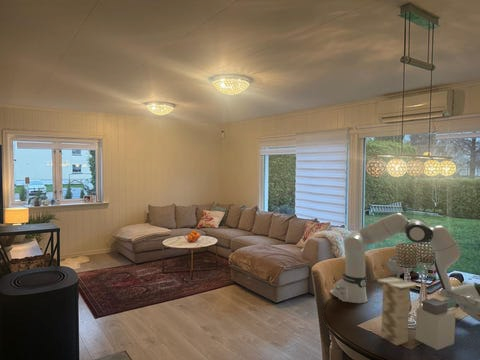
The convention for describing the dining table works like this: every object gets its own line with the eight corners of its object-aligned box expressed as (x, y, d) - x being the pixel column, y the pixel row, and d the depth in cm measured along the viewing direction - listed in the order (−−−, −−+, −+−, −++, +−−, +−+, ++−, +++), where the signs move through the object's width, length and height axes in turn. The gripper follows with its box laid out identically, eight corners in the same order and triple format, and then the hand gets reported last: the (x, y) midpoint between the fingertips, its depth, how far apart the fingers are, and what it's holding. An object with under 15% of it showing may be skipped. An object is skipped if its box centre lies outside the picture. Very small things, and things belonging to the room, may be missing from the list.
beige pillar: (375, 335, 150) (377, 279, 149) (390, 331, 155) (392, 276, 154) (398, 348, 139) (400, 288, 139) (413, 343, 144) (416, 284, 143)
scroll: (414, 281, 227) (415, 252, 226) (392, 275, 238) (393, 248, 238) (422, 277, 236) (423, 249, 236) (402, 272, 248) (403, 245, 247)
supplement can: (431, 274, 244) (432, 254, 243) (438, 277, 235) (439, 257, 235) (420, 274, 243) (421, 254, 243) (427, 277, 235) (428, 257, 235)
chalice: (390, 276, 236) (390, 255, 236) (411, 281, 227) (412, 259, 227) (384, 281, 225) (385, 259, 225) (406, 286, 217) (407, 263, 216)
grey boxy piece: (422, 309, 146) (422, 300, 146) (446, 302, 154) (446, 294, 154) (435, 315, 141) (436, 305, 141) (460, 307, 149) (460, 299, 149)
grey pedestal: (415, 339, 148) (416, 308, 147) (431, 333, 153) (433, 303, 153) (437, 350, 139) (438, 317, 138) (454, 343, 144) (455, 312, 144)
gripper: (450, 291, 168) (436, 281, 162) (496, 306, 150) (482, 296, 144) (446, 303, 166) (431, 293, 161) (492, 319, 148) (477, 309, 143)
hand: (456, 294), depth 152 cm, fingers open, 8 cm apart
